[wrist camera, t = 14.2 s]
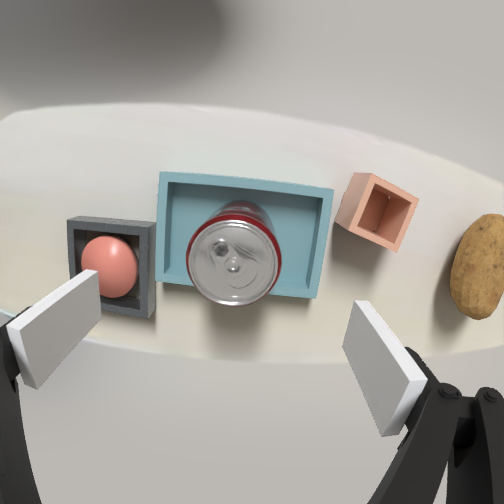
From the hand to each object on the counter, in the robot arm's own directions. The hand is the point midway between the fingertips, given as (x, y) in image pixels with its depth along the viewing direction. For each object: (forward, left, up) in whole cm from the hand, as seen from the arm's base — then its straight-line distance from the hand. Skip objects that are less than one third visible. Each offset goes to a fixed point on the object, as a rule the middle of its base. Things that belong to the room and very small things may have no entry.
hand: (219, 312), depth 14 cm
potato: (+30, +9, -21) cm, 38 cm away
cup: (+12, +8, -21) cm, 25 cm away
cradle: (-13, -9, -21) cm, 26 cm away
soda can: (0, 0, -20) cm, 20 cm away
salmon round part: (-13, -9, -20) cm, 26 cm away
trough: (0, 0, -21) cm, 21 cm away
